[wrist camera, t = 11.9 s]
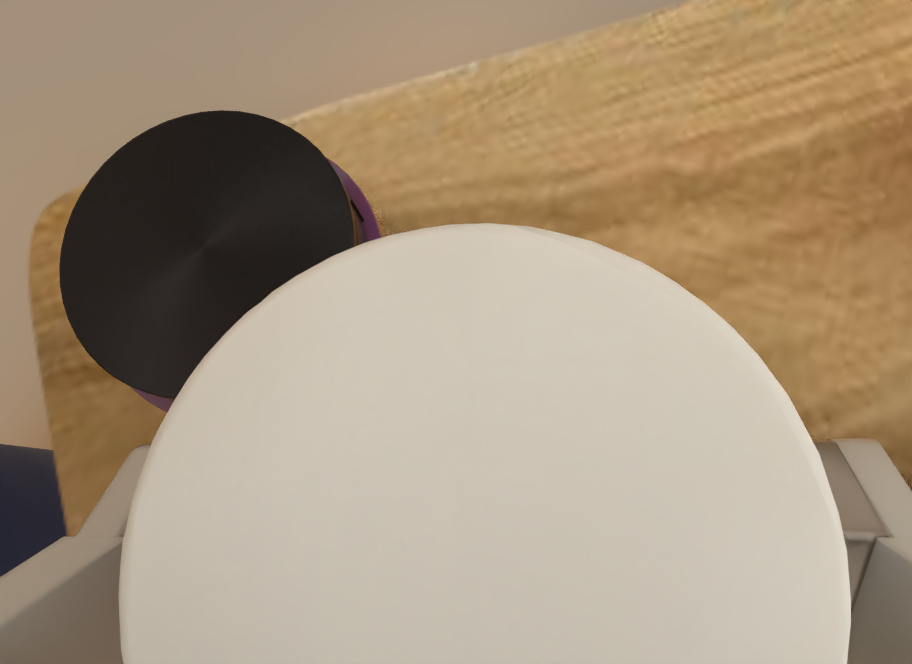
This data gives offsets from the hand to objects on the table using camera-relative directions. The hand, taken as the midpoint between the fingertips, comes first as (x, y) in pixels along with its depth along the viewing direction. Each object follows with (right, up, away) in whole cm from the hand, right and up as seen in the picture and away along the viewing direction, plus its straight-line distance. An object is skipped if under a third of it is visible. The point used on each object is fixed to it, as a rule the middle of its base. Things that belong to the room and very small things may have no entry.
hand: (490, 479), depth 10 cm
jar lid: (-8, +4, +14) cm, 17 cm away
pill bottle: (+1, -2, +6) cm, 6 cm away
